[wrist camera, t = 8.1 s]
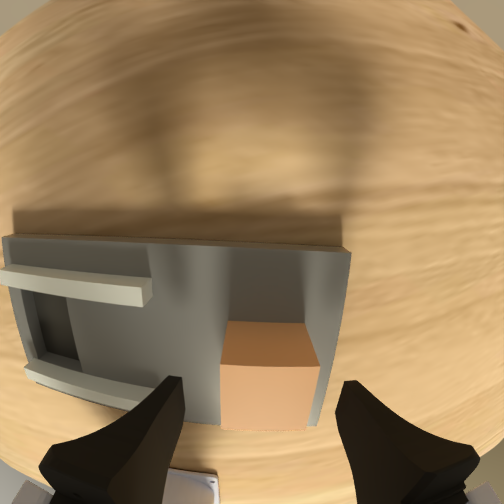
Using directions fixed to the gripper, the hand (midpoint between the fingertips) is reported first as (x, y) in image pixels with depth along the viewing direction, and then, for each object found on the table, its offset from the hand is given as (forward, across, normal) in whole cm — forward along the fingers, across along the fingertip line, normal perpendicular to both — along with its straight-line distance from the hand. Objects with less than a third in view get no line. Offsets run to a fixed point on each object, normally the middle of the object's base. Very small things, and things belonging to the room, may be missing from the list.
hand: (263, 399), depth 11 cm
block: (+4, 0, 0) cm, 4 cm away
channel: (+5, +7, 0) cm, 9 cm away
